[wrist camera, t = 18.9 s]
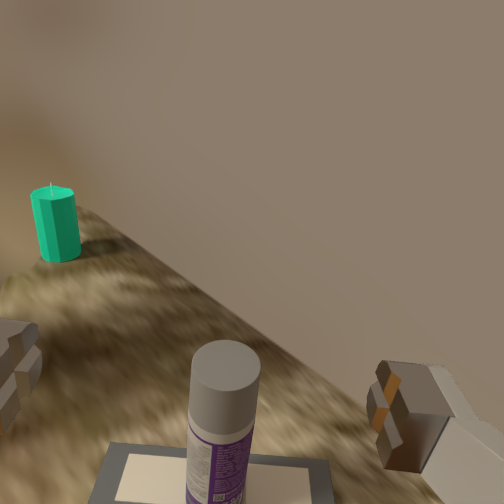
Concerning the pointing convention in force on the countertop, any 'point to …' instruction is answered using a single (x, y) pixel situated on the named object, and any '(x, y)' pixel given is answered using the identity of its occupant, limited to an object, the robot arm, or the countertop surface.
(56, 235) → the candle
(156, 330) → the countertop surface
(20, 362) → the robot arm
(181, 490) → the letter board
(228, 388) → the container
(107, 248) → the countertop surface
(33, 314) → the countertop surface
